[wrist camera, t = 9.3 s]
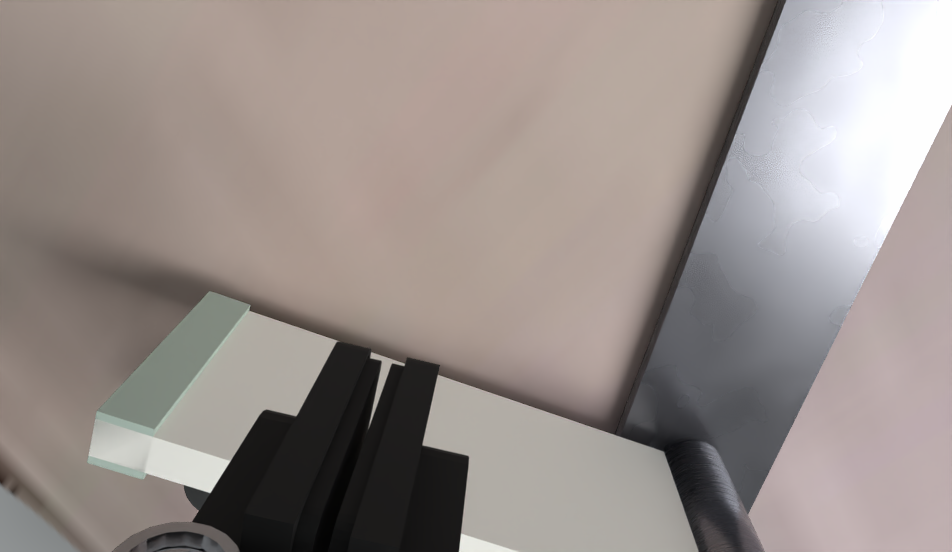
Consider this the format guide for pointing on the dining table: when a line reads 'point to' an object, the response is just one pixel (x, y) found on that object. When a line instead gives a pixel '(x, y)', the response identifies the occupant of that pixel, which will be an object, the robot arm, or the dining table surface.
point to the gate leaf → (448, 428)
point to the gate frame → (784, 244)
